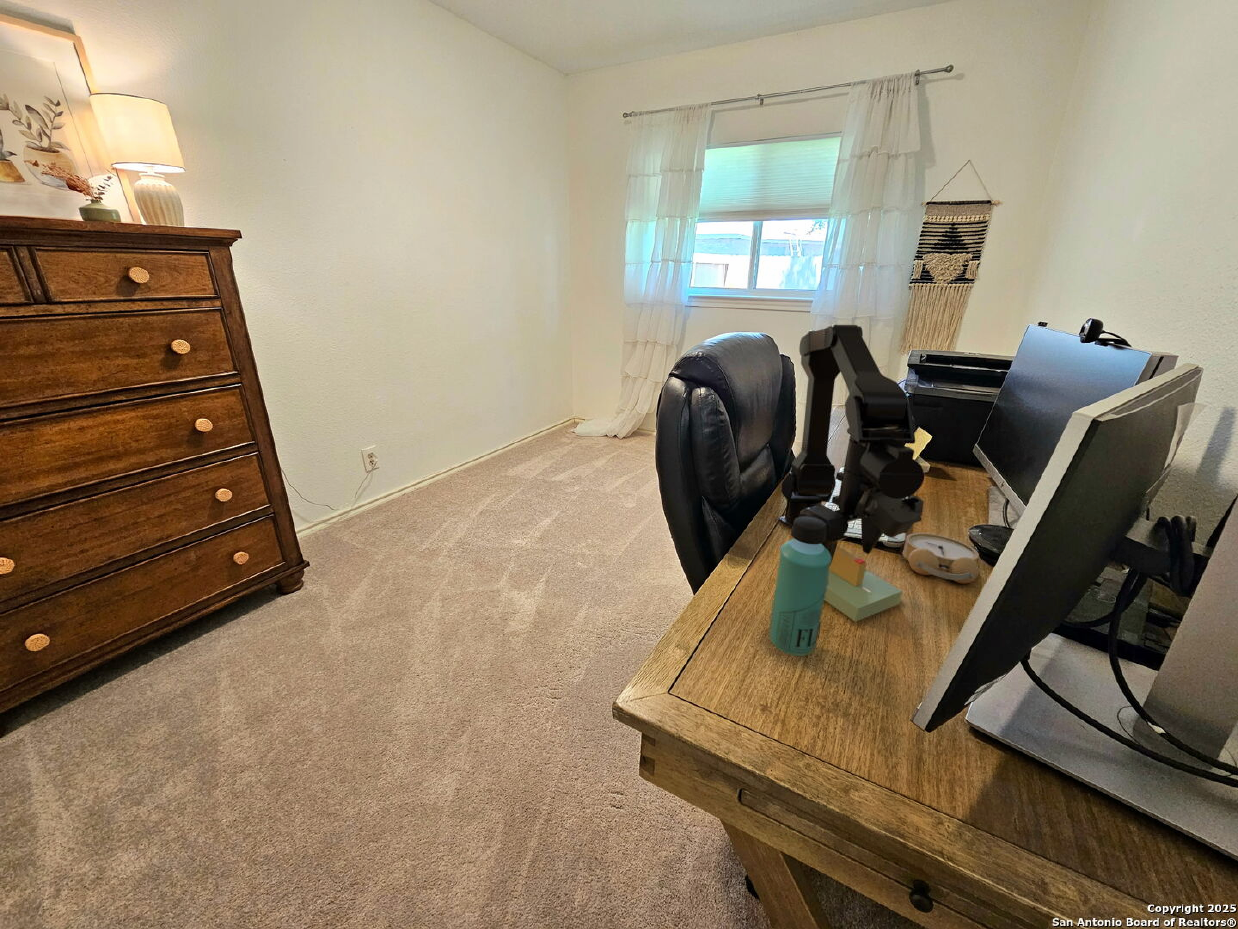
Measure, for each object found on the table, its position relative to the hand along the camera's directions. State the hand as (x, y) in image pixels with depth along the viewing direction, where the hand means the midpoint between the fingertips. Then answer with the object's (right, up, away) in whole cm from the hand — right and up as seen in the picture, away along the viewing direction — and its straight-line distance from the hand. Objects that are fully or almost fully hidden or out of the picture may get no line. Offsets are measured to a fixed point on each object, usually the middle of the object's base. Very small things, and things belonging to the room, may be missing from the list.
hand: (846, 559), depth 79 cm
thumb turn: (0, -3, +1) cm, 3 cm away
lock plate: (0, -5, +2) cm, 6 cm away
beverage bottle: (-13, -11, -11) cm, 20 cm away
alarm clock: (+20, -3, +8) cm, 22 cm away
